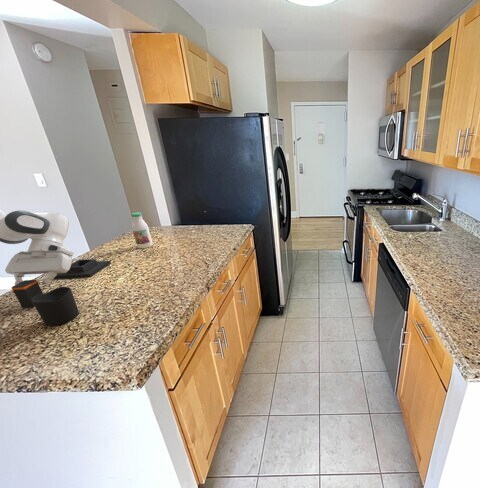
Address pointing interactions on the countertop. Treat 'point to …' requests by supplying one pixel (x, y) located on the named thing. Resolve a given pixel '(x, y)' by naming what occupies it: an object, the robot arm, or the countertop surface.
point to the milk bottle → (141, 231)
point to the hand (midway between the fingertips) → (32, 284)
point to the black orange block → (27, 292)
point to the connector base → (83, 268)
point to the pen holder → (56, 306)
